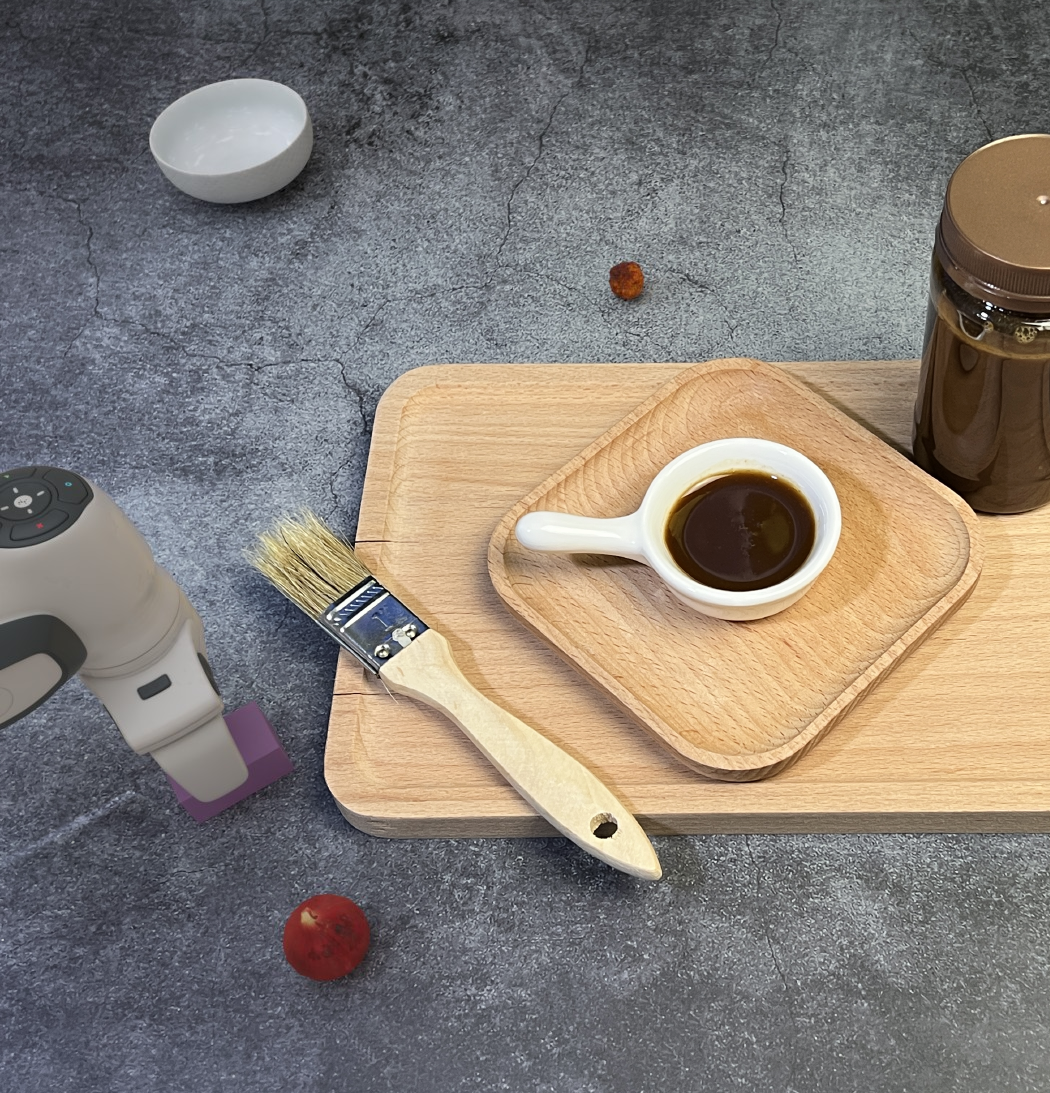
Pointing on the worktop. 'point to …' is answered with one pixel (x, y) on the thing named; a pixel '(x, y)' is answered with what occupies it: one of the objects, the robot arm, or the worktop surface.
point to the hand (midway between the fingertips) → (206, 724)
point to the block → (258, 754)
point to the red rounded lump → (326, 937)
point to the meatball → (626, 279)
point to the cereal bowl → (233, 140)
